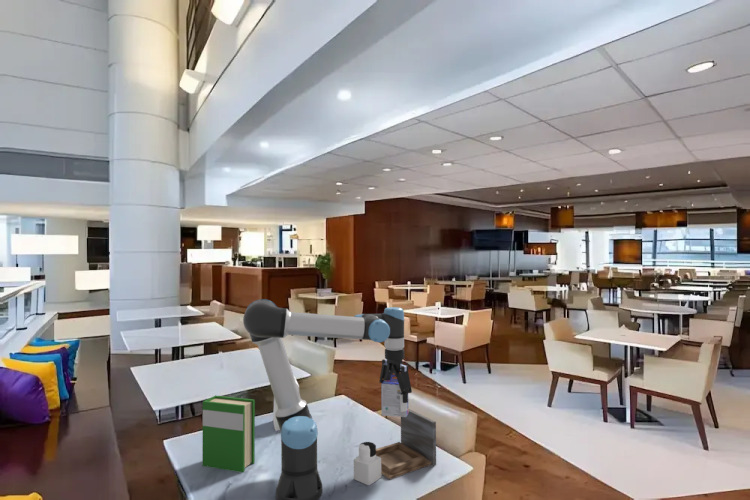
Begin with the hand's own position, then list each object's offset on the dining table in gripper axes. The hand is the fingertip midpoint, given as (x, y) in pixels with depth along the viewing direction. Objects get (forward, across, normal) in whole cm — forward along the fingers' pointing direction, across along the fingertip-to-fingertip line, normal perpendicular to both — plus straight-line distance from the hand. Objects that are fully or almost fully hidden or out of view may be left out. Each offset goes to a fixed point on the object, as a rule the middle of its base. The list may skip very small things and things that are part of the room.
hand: (395, 406), depth 162 cm
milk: (+21, +59, +20) cm, 66 cm away
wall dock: (+21, 0, -1) cm, 21 cm away
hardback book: (+21, +34, +53) cm, 67 cm away
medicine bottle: (+21, -4, +15) cm, 26 cm away
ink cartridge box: (+3, 0, 0) cm, 3 cm away
